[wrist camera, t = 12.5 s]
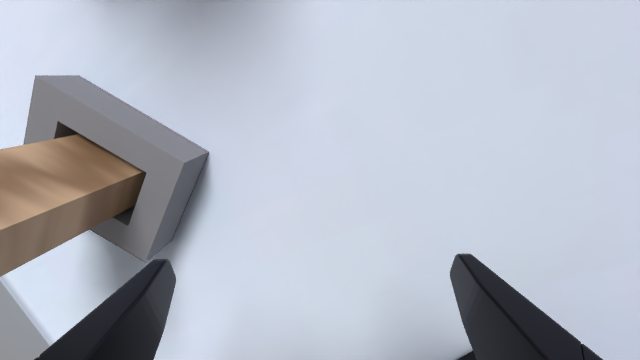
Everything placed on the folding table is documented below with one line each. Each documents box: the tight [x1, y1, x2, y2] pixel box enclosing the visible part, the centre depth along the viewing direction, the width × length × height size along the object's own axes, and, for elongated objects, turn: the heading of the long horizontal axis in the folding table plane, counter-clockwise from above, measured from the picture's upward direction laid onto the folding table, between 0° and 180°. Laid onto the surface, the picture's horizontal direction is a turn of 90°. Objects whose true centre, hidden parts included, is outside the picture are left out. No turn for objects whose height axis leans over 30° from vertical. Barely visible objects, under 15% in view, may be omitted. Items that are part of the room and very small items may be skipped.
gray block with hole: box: [24, 76, 209, 262], centre depth 22 cm, size 10×8×3 cm
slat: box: [0, 134, 146, 277], centre depth 18 cm, size 5×3×13 cm, turn 62°
